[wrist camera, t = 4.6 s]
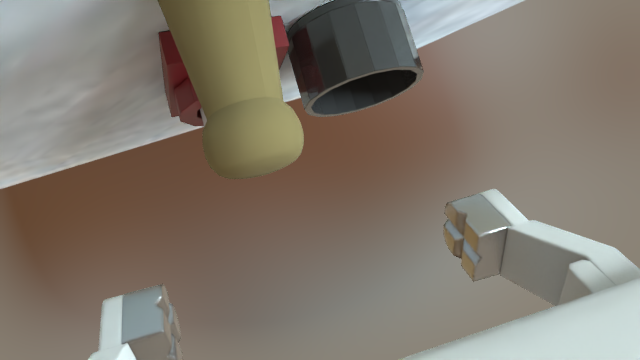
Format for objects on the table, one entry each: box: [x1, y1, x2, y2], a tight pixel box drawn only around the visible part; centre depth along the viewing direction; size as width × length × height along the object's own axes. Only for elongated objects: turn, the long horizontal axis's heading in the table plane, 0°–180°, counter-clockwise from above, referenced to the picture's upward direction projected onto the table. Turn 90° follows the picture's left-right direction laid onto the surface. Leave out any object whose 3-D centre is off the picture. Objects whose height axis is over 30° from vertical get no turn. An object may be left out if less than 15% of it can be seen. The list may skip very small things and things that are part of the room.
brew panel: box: [158, 16, 289, 126], centre depth 37 cm, size 8×10×4 cm
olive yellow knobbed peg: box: [158, 0, 304, 179], centre depth 26 cm, size 6×6×11 cm
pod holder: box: [287, 0, 423, 117], centre depth 37 cm, size 9×9×6 cm
